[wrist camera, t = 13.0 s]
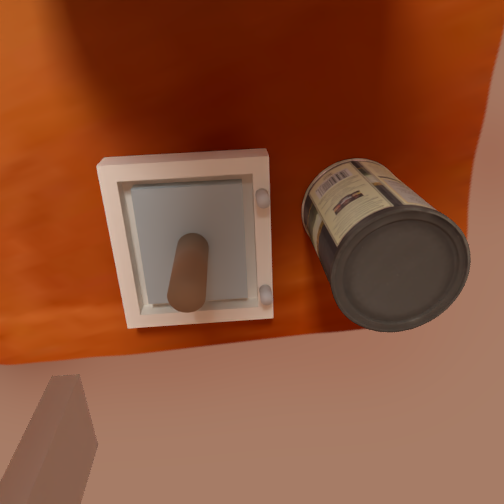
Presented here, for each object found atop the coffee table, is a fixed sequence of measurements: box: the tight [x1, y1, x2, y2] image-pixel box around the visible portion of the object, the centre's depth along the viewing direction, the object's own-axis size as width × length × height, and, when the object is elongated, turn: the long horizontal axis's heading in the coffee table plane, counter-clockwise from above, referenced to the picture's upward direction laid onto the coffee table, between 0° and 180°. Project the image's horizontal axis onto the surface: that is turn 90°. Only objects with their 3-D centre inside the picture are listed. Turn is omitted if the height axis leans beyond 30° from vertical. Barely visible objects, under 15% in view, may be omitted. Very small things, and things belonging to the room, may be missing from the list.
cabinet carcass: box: [96, 148, 273, 328], centre depth 44 cm, size 17×15×5 cm
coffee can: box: [302, 158, 470, 332], centre depth 40 cm, size 10×10×14 cm
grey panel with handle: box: [131, 179, 248, 313], centre depth 41 cm, size 12×10×11 cm
